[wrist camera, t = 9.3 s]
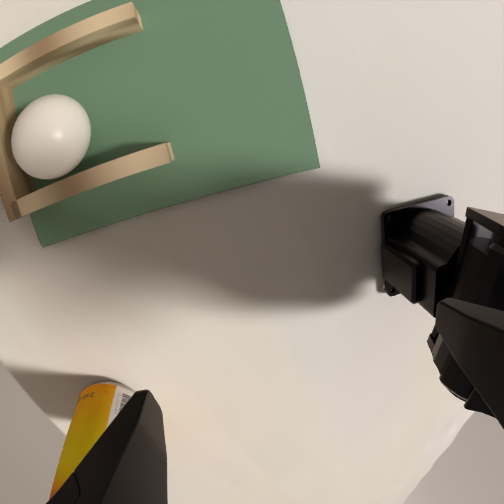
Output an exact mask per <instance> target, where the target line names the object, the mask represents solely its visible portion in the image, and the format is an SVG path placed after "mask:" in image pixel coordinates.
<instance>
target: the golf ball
mask: <svg viewBox="0 0 504 504" xmlns="http://www.w3.org/2000/svg"><path fill="white" fill-rule="evenodd" d="M90 138H91V125H90V121H89V117H88V115H87V113H86V111H85V109H84V108H83V107H82V106H81V104H80V103H78V102H77V101H76V100H74V99H73V98H71V97H68V96H66V95H61V94H51V95H45V96H42V97H40V98H38V99H36V100H34V101H33V102H31V103H30V104H29V105H27V106H26V107H25V109H24V110H23V111H22V112H21V113H20V115H19V116H18V118H17V120H16V122H15V125H14V127H13V131H12V137H11V146H12V152H13V155H14V158H15V160H16V162H17V164H18V165H19V166H20V167H21V169H22V170H23V171H25V172H26V173H27V174H29V175H31V176H33V177H35V178H39V179H54V178H58V177H61V176H63V175H65V174H67V173H69V172H70V171H72V170H73V169H74V168H75V167H76V166H77V165H78V164H79V163H80V161H81V160H82V159H83V157H84V156H85V154H86V152H87V149H88V147H89V143H90Z"/></svg>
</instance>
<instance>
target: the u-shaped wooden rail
mask: <svg viewBox="0 0 504 504" xmlns="http://www.w3.org/2000/svg"><path fill="white" fill-rule="evenodd" d="M141 31H143V27H142V22H141V17H140V15H139V13H138V12H137V10H136V8H135V6H134V4H133V2H129V3H126V4H123V5H120V6H117V7H115V8H112V9H109V10H107V11H104V12H101V13H99V14H96V15H94V16H91V17H89V18H87V19H84V20H82V21H80V22H77V23H75V24H73V25H71V26H69V27H66V28H64V29H62V30H60V31H58V32H56V33H54V34H52V35H50V36H48V37H46V38H44V39H42V40H40V41H39V42H37V43H35V44H33V45H31V46H29V47H28V48H26V49H24V50H22V51H21V52H19V53H17V54H16V55H14V56H12V57H11V58H9V59H7V60H6V61H4V62H3V63H1V64H0V194H1V197H2V200H3V203H4V207H5V210H6V213H7V216H8V219H9V222H12V221H14V220H16V219H18V218H20V217H23V216H25V215H27V214H30V213H32V212H34V211H37V210H39V209H41V208H44V207H46V206H48V205H51V204H53V203H56V202H58V201H61V200H63V199H66V198H68V197H71V196H74V195H76V194H79V193H81V192H84V191H87V190H89V189H92V188H95V187H98V186H100V185H103V184H106V183H109V182H112V181H115V180H117V179H120V178H123V177H126V176H129V175H132V174H135V173H138V172H142V171H145V170H148V169H151V168H154V167H157V166H161V165H164V164H167V163H170V162H171V161H173V160H174V155H173V152H172V148H171V144H170V142H167V143H163V144H160V145H157V146H154V147H150V148H147V149H144V150H141V151H138V152H135V153H132V154H129V155H126V156H123V157H120V158H117V159H115V160H112V161H109V162H106V163H103V164H101V165H98V166H95V167H93V168H90V169H88V170H85V171H82V172H80V173H77V174H75V175H72V176H70V177H67V178H65V179H63V180H60V181H58V182H55V183H53V184H51V185H48V186H46V187H44V188H42V189H39V190H37V191H36V190H35V187H34V184H33V180H32V177H31V175H29V174H27V173H26V172H25V171H23V170H22V169H21V167H20V166H19V165H18V164H17V162H16V160H15V158H14V155H13V152H12V146H11V137H12V131H13V127H14V125H15V122H16V120H17V115H16V109H15V104H14V98H13V92H12V89H13V88H15V87H17V86H18V85H20V84H22V83H24V82H25V81H27V80H29V79H31V78H33V77H35V76H36V75H38V74H40V73H42V72H44V71H46V70H48V69H50V68H52V67H54V66H56V65H58V64H60V63H62V62H64V61H66V60H69V59H71V58H73V57H75V56H77V55H80V54H82V53H84V52H87V51H89V50H92V49H94V48H96V47H99V46H101V45H104V44H107V43H109V42H112V41H115V40H117V39H120V38H123V37H126V36H129V35H132V34H135V33H138V32H141Z"/></svg>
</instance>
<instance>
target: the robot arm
mask: <svg viewBox="0 0 504 504" xmlns="http://www.w3.org/2000/svg"><path fill="white" fill-rule="evenodd" d="M447 201H448V204H447ZM388 216H390V219H389V220H388V221H387V217H388ZM465 216H466V217H467V218H466V222H463V221H461V220H459V219H457V218H454V200H453V198H452V197H451V196H448V195H444V196H440V197H436V198H433V199H429V200H425V201H421V202H417V203H413V204H410V205H406V206H402V207H398V208H394V209H390V210H387V211H384V212H383V213H382V215H381V230H382V245H381V257H382V275H383V278H384V279H385V292H386V293H387V294H388V295H389V296H395V295H397V294H400V293H401V294H402V295H403V296H405V297H406V298H407V299H408V300H409V301H410V302H411V303H413V304H416V303H419V304H420V305H421V306H422V307H423V308H424V309H425V310H426V311H428V312H429V313H430V314H431V315H432V316H433V317H434V318H436V322H435V326H434V329H433V331H432V333H431V334H430V335H429V338H428V340H427V343H428V346H429V348H430V350H431V353H432V355H433V361H434V363H435V365H436V366H437V368H438V370H439V373H440V377H439V379H440V381H441V383H442V384H443V385H444V386H445V387H446V388H447V389H448V390H449V391H450V392H451V393H452V394H453V395H454V396H455V397H457V398H459V399H461V400H463V401H465V404H464V407H465V408H466V409H468V410H472V411H478V412H482V413H485V414H487V415H490V416H492V417H494V418H496V419H497V420H498V421H499V423H500V424H501V426H502V427H503V429H504V214H500V213H495V212H490V211H486V210H481V209H476V208H471V207H467V210H466V215H465ZM391 288H393V289H392V290H391ZM390 290H391V291H390ZM46 504H168V502H167V453H166V444H165V435H164V426H163V415H162V411H161V408H160V406H159V405H158V403H157V401H156V400H155V398H154V396H153V395H152V393H151V392H150V391H149V390H141V391H136V392H135V393H134V394H133V395H132V396H131V398H130V399H129V400H128V402H127V403H126V404H125V405H124V407H123V408H122V409H121V411H120V412H119V413H118V414H117V416H116V417H115V418H114V419H113V421H112V422H111V423H110V425H109V426H108V427H107V428H106V430H105V431H104V432H103V434H102V435H101V436H100V437H99V439H98V440H97V441H96V443H95V444H94V445H93V446H92V448H91V449H90V450H89V452H88V453H87V454H86V455H85V457H84V458H83V459H82V461H81V462H80V463H79V464H78V466H77V467H76V468H75V470H74V472H72V473H71V475H70V476H69V477H68V479H67V480H66V481H65V482H64V484H63V485H62V486H61V487H60V488H59V490H58V491H57V492H56V493H55V494H54V495H53V496H52V498H51V499H50V500H49V501H48V502H47V503H46Z"/></svg>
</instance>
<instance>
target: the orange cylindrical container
mask: <svg viewBox="0 0 504 504" xmlns="http://www.w3.org/2000/svg"><path fill="white" fill-rule="evenodd" d="M134 393H135V391H134V390H132V389H131V388H129V387H127V386H125V385H123V384H120V383H116V382H108V381H106V382H99V383H96V384H93V385H90V386H88V387H86V388H85V389H84V390H83V391H82V392H81V394H80V397H79V400H78V403H77V406H76V409H75V412H74V415H73V418H72V421H71V424H70V427H69V430H68V433H67V436H66V440H65V443H64V446H63V450H62V453H61V457H60V460H59V464H58V467H57V471H56V475H55V479H54V482H53V486H52V490H51V495H50V499H51V498H52V496H53V495H54V494H55V493H56V492H57V491H58V490H59V488H60V487H61V486H62V485H63V484H64V482H65V481H66V480H67V479H68V477H69V476H70V475H71V473H72V472H74V470H75V468H76V467H77V466H78V464H79V463H80V462H81V461H82V459H83V458H84V457H85V455H86V454H87V453H88V452H89V450H90V449H91V448H92V446H93V445H94V444H95V443H96V441H97V440H98V439H99V437H100V436H101V435H102V434H103V432H104V431H105V430H106V428H107V427H108V426H109V425H110V423H111V422H112V421H113V419H114V418H115V417H116V416H117V414H118V413H119V412H120V411H121V409H122V408H123V407H124V405H125V404H126V403H127V402H128V400H129V399H130V398H131V396H132V395H133V394H134ZM50 499H49V500H50Z"/></svg>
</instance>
